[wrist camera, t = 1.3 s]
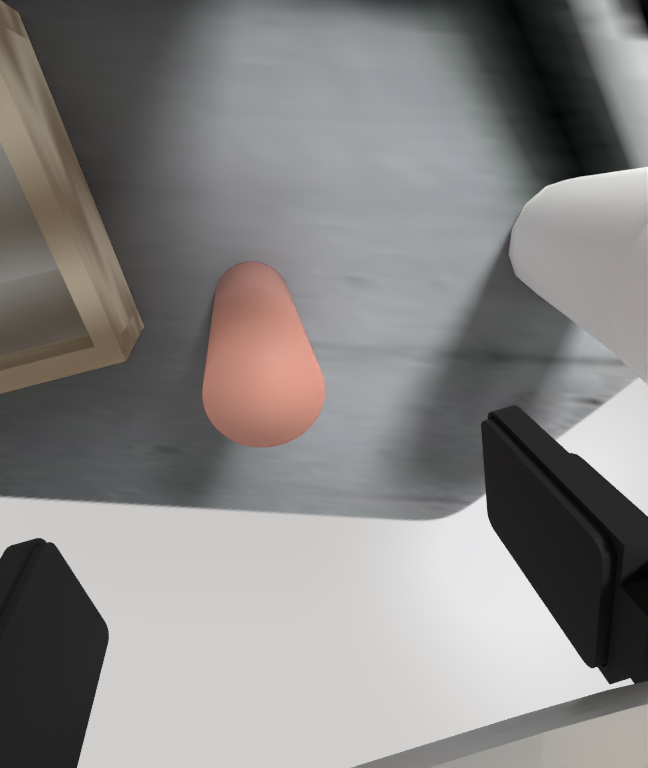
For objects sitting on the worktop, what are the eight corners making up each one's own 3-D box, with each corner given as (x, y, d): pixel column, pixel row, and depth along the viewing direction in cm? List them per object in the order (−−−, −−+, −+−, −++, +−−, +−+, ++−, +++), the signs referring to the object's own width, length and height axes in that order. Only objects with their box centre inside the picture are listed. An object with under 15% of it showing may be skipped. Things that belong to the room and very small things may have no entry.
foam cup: (614, 310, 31) (844, 404, 19) (476, 323, 30) (633, 432, 18) (652, 143, 27) (973, 135, 15) (494, 150, 26) (710, 147, 14)
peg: (205, 272, 26) (184, 355, 15) (278, 253, 26) (310, 323, 15) (227, 341, 27) (223, 460, 17) (296, 323, 28) (335, 429, 17)
